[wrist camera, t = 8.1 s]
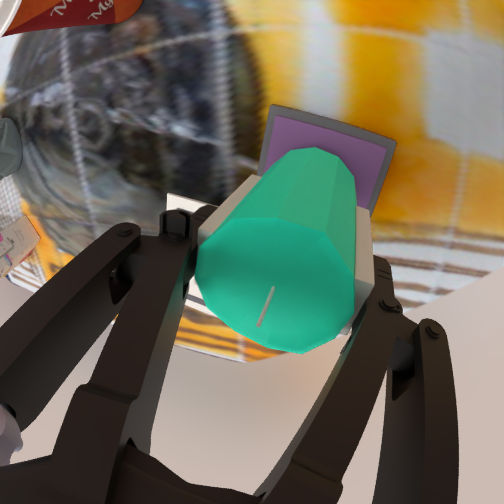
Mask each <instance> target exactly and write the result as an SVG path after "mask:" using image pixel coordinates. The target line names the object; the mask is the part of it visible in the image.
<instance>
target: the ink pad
mask: <svg viewBox="0 0 504 504" xmlns="http://www.w3.org/2000/svg"><path fill="white" fill-rule="evenodd" d="M396 143H397V142H396V141H395V140H393V139H390V138H388V137H385V136H382V135H379V134H377V133H374V132H371V131H368V130H365V129H362V128H359V127H356V126H353V125H350V124H346V123H343V122H340V121H337V120H333V119H330V118H326V117H323V116H319V115H315V114H312V113H308V112H304V111H300V110H296V109H292V108H288V107H284V106H279V105H275V104H273V105H270V109H269V114H268V119H267V124H266V129H265V134H264V140H263V145H262V150H261V155H260V161H259V166H258V171H257V176H260V177H262V176H263V175H264V173H265V172H266V171H267V170H268V169H269V168H270V167H271V166H272V165H273V164H274V163H275V162H277V161H278V160H279V159H280V158H281V157H283V156H284V155H285V154H286V153H288V152H289V151H290V150H296V149H304V148H312V147H316V148H319V149H321V150H323V151H326V152H328V153H331V154H333V155H335V156H338V157H339V158H340V159H341V160H342V162H343V163H344V164H345V166H346V167H347V168H348V170H349V171H350V172H351V173H352V175H353V176H354V181H355V190H356V199H357V206H359V207H362V208H364V209H367V210H369V214H370V217H371V215H372V212H373V210H374V207H375V204H376V202H377V199H378V196H379V193H380V191H381V188H382V185H383V182H384V179H385V177H386V174H387V171H388V168H389V165H390V162H391V159H392V156H393V153H394V150H395V147H396Z"/></svg>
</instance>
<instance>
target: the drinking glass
mask: <svg viewBox="0 0 504 504" xmlns="http://www.w3.org/2000/svg"><path fill="white" fill-rule="evenodd" d="M21 161H22V143H21V138H20V134H19V131H18V128H17V126H16V125H15V123H14V122H13V121H12V120H11V119H10V118H1V119H0V180H2V179H3V177H7V176H9V175H10V174H12V173H14V172H15V171H16V170H18V168H19V167H20V165H21Z"/></svg>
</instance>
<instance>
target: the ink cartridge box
mask: <svg viewBox="0 0 504 504" xmlns="http://www.w3.org/2000/svg"><path fill="white" fill-rule="evenodd" d="M39 240H40V236H39V235H38V234H37V232H36V230H35V229H34V227H33V226H32V224H31V223H30V221H29V220H28V218H27V216H26V215H25V216H23V217H22V218H20V219H18V220H17V221H16V222H14V223H13V224H11V225H10V226H8V227H7V228H5V229H4V230H3V231H1V232H0V280H1V279H2V278H3V277H4V276H5V275H7V274H8V273H9V272H10V271H11V270H13V269H14V268H15V267H16V266H18V265H19V264H20V263H21V262H22V261H24V260H25V259H26V258H27V257H29V255H30V254H31V252H32V251H33V249H34V247H35V246H36V244H37V243H38V241H39Z"/></svg>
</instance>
